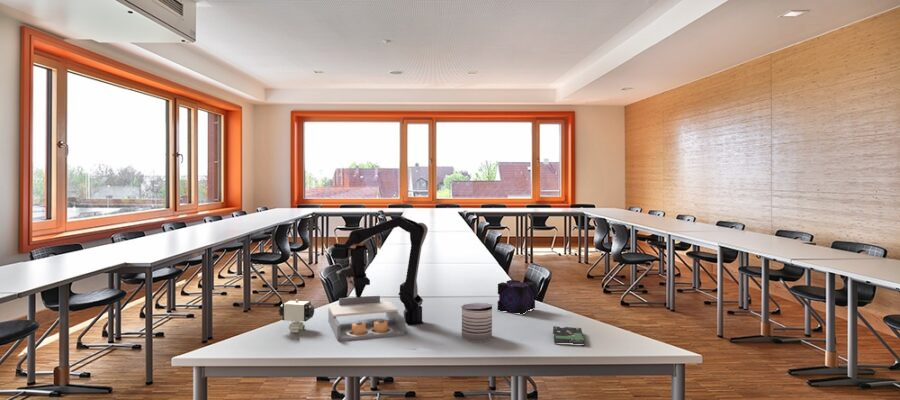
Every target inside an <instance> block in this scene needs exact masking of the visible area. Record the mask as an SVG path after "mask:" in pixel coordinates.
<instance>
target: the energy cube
mask: <svg viewBox="0 0 900 400" xmlns="http://www.w3.org/2000/svg"><path fill="white" fill-rule="evenodd" d="M497 294H498V295H499V296H498V300H497V311H498V310H500V311H509V312H508V313H512V314H513V313H520V314H523V313H525V312H526V311H528V310H530V309H533V308H535V309H536V299H534V298H535V297H534V295H535V294H536V282H532V281H525V282H522V281H521V280H516V279H508V280H506V282H499V283H497ZM500 311H499V312H500ZM528 312H529V311H528Z"/></svg>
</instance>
